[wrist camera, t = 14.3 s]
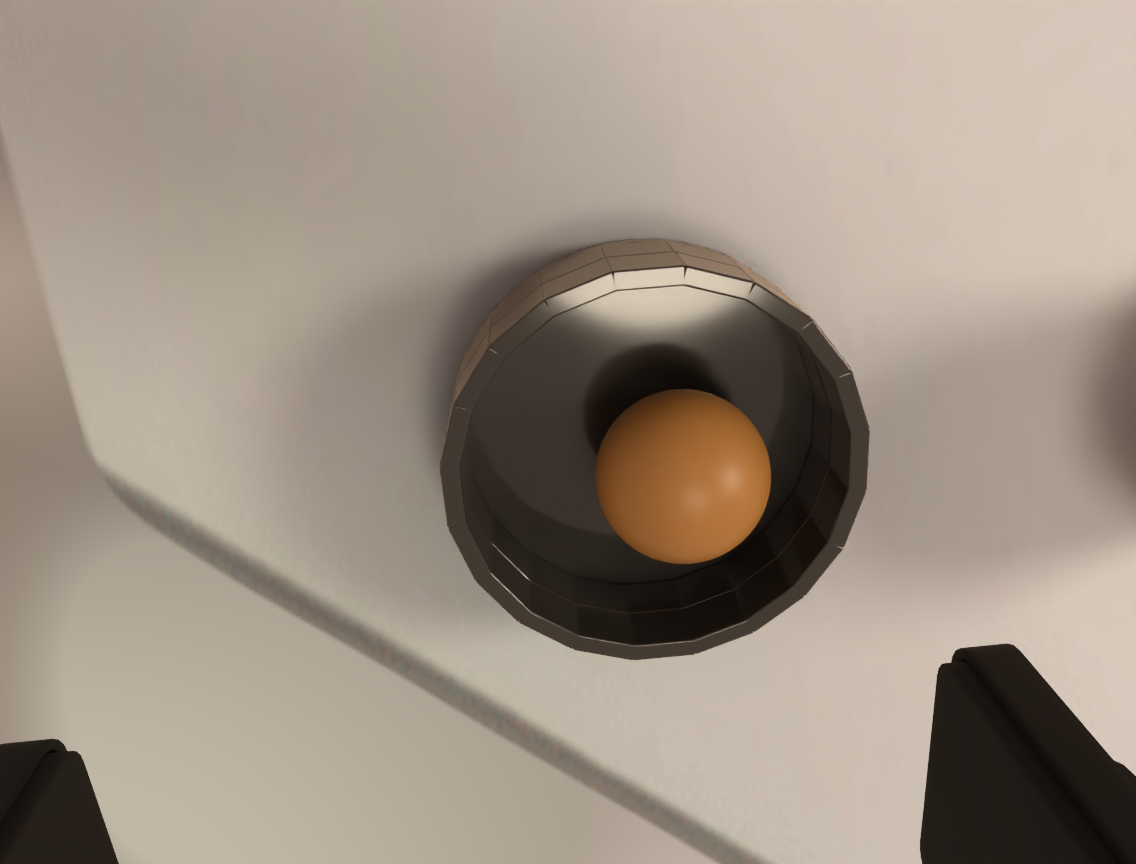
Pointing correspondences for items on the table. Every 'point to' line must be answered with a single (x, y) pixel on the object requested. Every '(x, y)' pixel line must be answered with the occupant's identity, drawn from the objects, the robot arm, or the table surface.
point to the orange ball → (683, 476)
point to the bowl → (590, 406)
